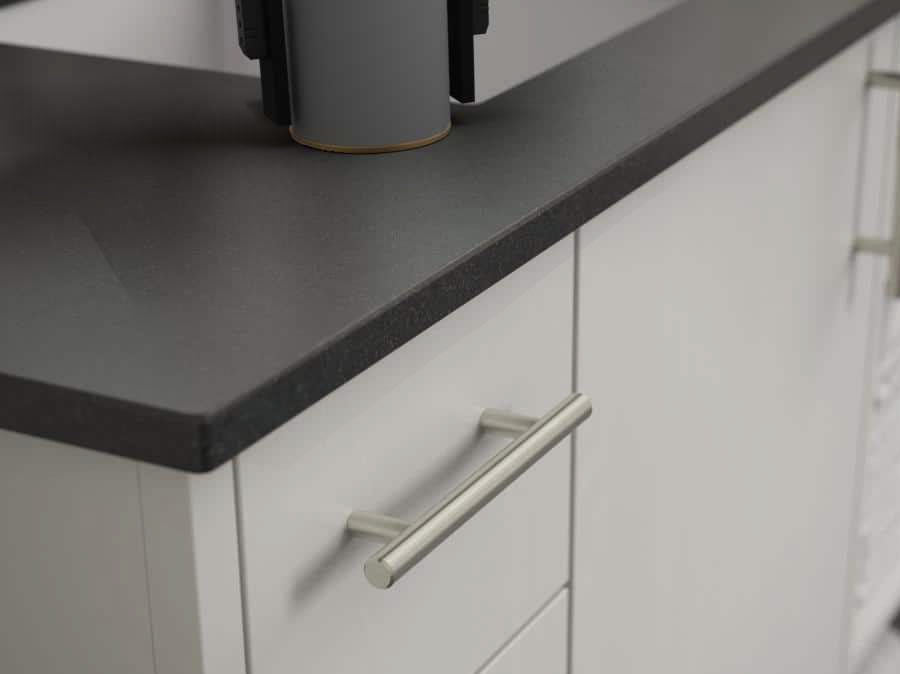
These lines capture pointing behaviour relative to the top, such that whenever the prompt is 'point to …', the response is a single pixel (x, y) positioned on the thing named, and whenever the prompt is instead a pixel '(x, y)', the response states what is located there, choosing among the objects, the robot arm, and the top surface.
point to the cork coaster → (372, 148)
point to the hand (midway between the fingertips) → (370, 108)
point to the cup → (367, 70)
